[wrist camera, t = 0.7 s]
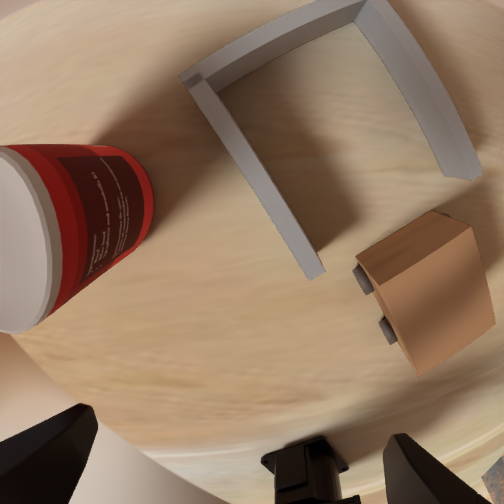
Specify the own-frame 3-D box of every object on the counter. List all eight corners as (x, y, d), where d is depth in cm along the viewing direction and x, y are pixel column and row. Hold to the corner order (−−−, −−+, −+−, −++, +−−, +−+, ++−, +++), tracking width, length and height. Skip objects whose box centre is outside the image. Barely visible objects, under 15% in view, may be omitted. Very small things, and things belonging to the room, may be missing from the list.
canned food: (44, 205, 20) (-72, 244, 9) (106, 120, 18) (-19, 104, 8) (108, 281, 21) (12, 366, 11) (182, 202, 19) (89, 252, 9)
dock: (454, 169, 18) (483, 172, 14) (303, 260, 20) (309, 281, 17) (356, 5, 15) (370, -19, 12) (193, 89, 17) (177, 75, 14)
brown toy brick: (466, 289, 20) (502, 318, 15) (386, 340, 21) (409, 381, 16) (437, 206, 18) (478, 220, 14) (347, 261, 20) (368, 292, 15)
